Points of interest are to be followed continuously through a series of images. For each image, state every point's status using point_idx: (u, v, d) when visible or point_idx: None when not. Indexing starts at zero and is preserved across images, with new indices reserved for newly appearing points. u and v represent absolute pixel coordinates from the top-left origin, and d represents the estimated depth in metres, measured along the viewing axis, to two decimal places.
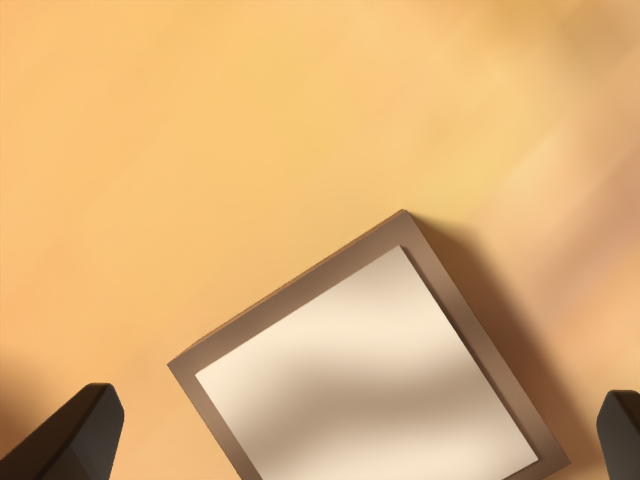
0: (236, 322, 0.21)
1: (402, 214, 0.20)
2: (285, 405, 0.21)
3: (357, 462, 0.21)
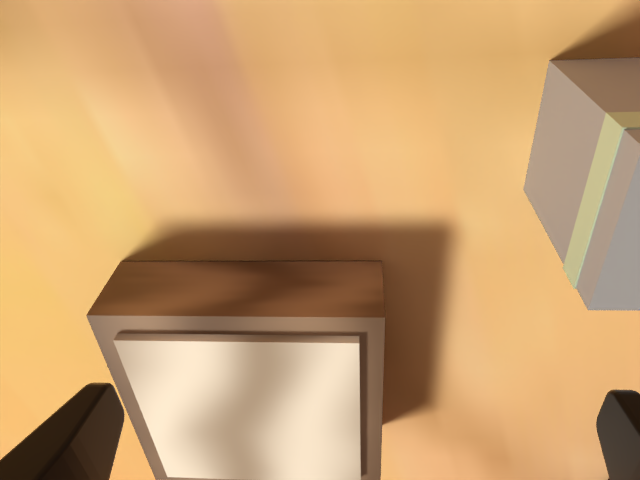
0: (140, 439, 0.25)
1: (89, 319, 0.21)
2: (216, 449, 0.25)
3: (285, 436, 0.24)
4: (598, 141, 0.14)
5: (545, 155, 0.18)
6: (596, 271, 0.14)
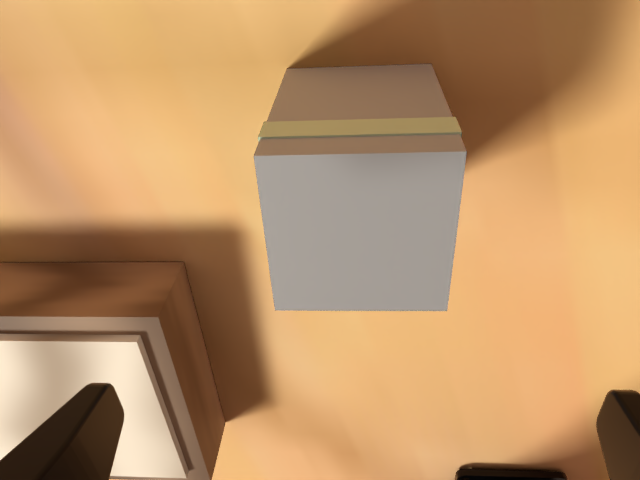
0: None
1: None
2: None
3: None
4: None
5: None
6: None
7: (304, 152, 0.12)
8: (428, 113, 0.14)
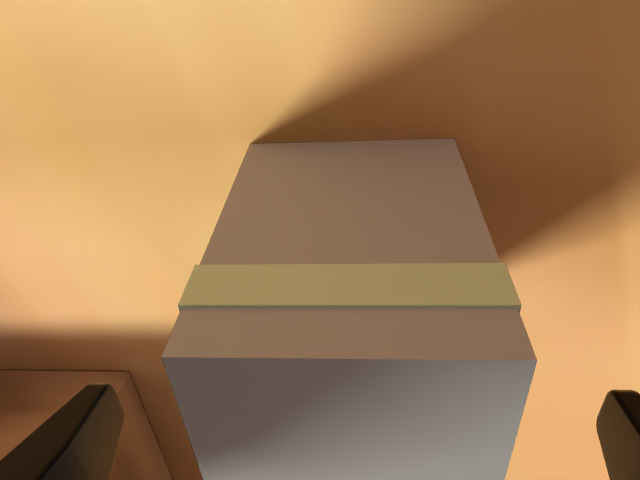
0: None
1: None
2: None
3: None
4: None
5: None
6: None
7: (250, 348, 0.07)
8: (459, 251, 0.09)
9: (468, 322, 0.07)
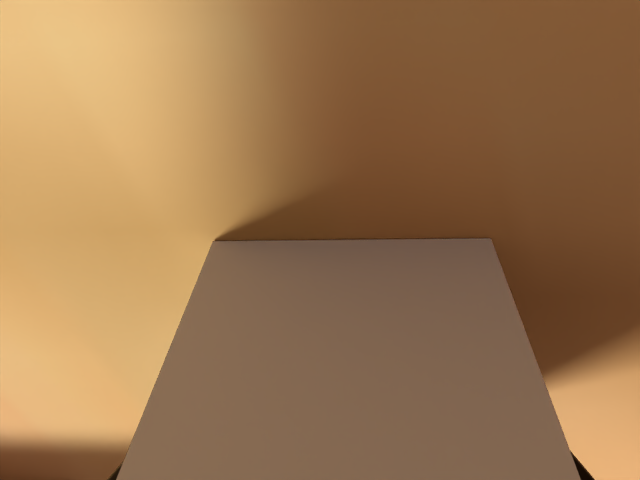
0: None
1: None
2: None
3: None
4: None
5: None
6: None
7: None
8: None
9: None
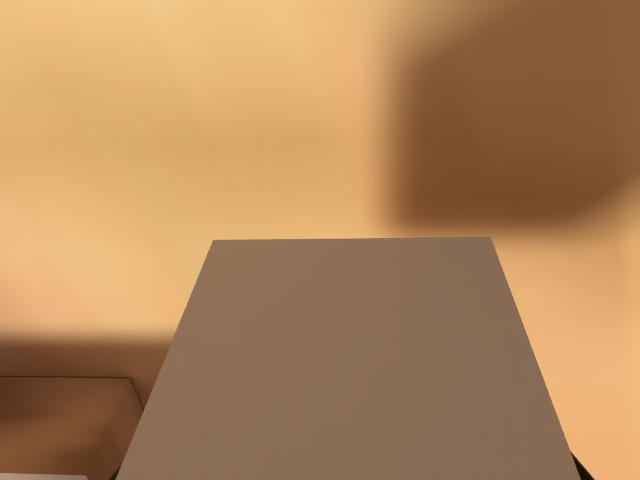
0: None
1: None
2: None
3: None
4: None
5: None
6: None
7: None
8: None
9: None
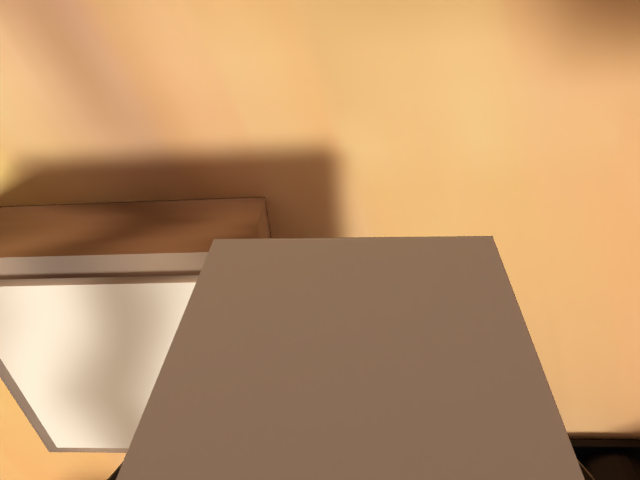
0: (21, 406, 0.23)
1: None
2: (100, 414, 0.23)
3: None
4: None
5: None
6: None
7: None
8: None
9: None
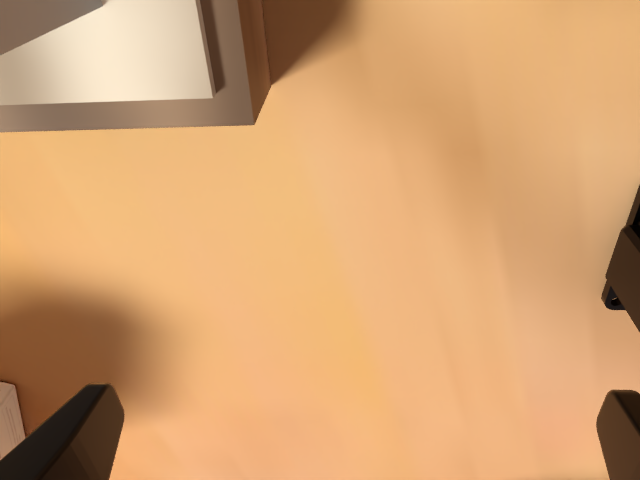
0: None
1: None
2: None
3: None
4: None
5: None
6: None
7: None
8: None
9: None
